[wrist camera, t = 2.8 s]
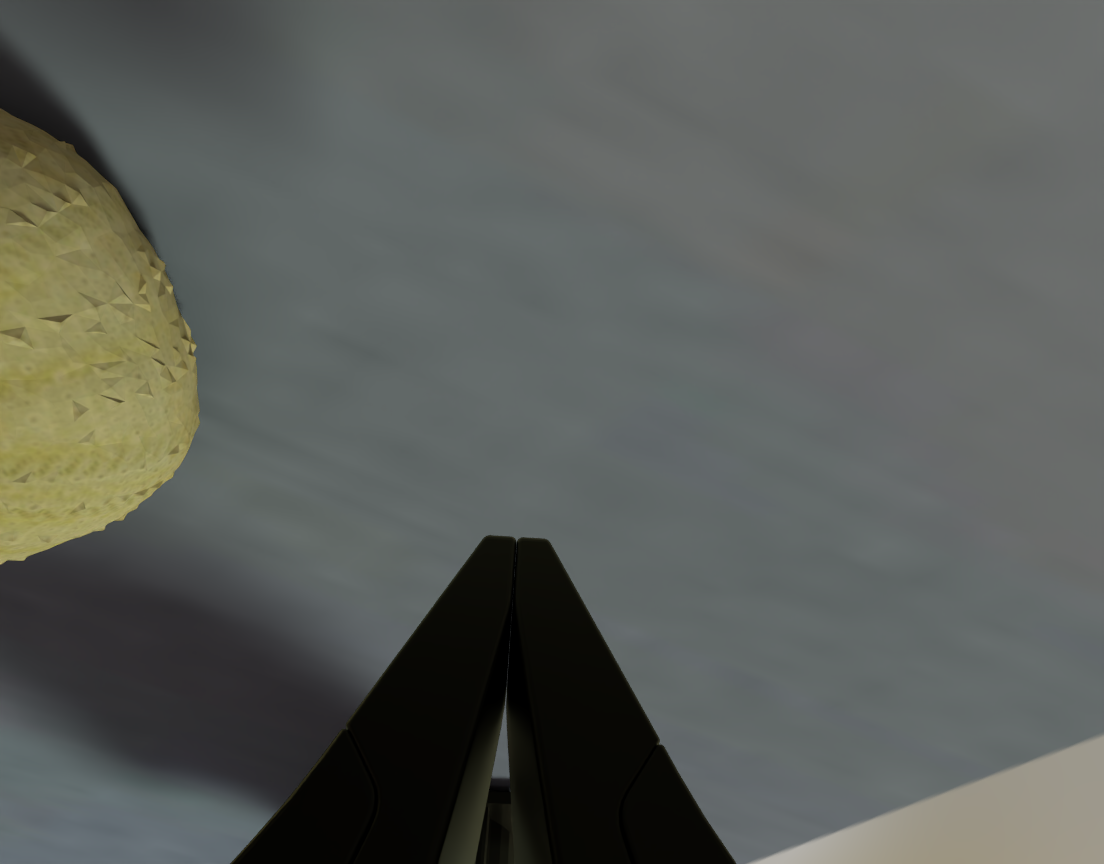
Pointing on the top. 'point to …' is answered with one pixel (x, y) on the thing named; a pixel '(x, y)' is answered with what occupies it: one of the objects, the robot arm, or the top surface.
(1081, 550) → the top surface
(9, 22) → the top surface
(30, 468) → the sea urchin shell
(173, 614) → the top surface
